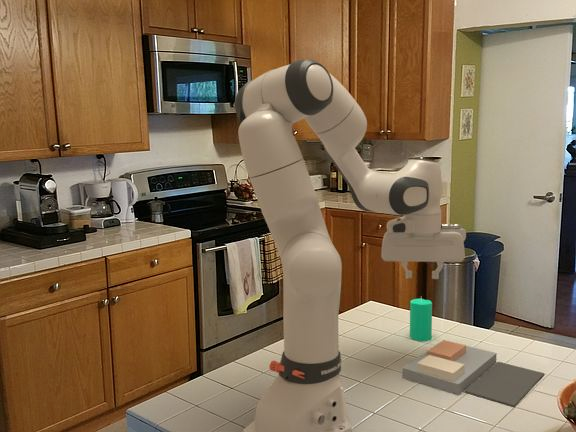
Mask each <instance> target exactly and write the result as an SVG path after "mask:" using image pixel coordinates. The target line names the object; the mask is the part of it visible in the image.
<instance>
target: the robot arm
mask: <svg viewBox="0 0 576 432" xmlns="http://www.w3.org/2000/svg"><path fill="white" fill-rule="evenodd" d="M234 100H235V101H234V102H235V105H234V106H235V112H236V116H237V119H238V122H239V124H240V125H239V127H238V130H237V131H238V132H237V133H238V134H237V135H238V140H239V146H240V151H241V155H242V159H243V163H244V166H245V171H246V172H247V175H248V176H247V177H249V180H250V183H251V186H252V189H253V192H254V194H255V197H256V200H257V203H258V205H259V207H260V211H261V213H262V215H263V218H264V221H265V223H266V224H267V228H268V229H269V233H270V235H271V236H272V237H271V238H272V239H273V242H274V244H275V247H276V250H277V252H278V254H279V258H280V262H281V265H282V266H281V267H282V278H283V281H282V283H283V285H282V286H283V287H282V289H283V293H282V295H283V304H282V305H283V312H282V313H283V314H282V318H283V320H282V321H283V351H282V353H281V359H280V361H279V362H278V361H276V360H271V362H270V364H269V370H270V371H271V372H275V373H277V376H276V377H275V379H274V380H272V383H271V384H270V385H269V387H268V388H267V390H265V393H264V394H263V396H262V397H261V398H260V399H259V400H258V403H256V408H255V414H254V420H253V421H251V422H250V423H249V424H248V425H247V426H245V427H244V429H243V430H242V432H352V430H353V429H352V424H351V423H350V421H349V420H348V413H347V412H348V411H347V404H346V403H347V402H346V395H345V388H344V385H343V383H342V380H341V379H342V378H341V375H340V374H341V372H342V357H341V356H342V355H341V351H340V350H339V349H340V348H339V312H340V311H339V310H340V304H341V303H340V302H341V301H340V300H341V290H342V289H341V288H342V274H343V273H342V270H343V266H342V263H343V262H342V259H341V255H340V254H339V252H338V250H337V249H336V247H335V245H334V244H333V242H332V239H331V237H330V234H329V232H328V228H327V225H326V222H325V219H324V216H323V213H322V210H321V207H320V203H319V200H318V196H317V193H316V191H315V190H316V189H315V188H314V184H313V182H312V179H311V177H310V174H309V171H308V168H307V165H306V162H305V159H304V156H303V154H302V152H301V149H300V147H299V144H298V142H297V139H296V137H295V135H294V134H293V124H296V123H297V122H300V121H302V120H304V121H305V122H306V124H307V125H308V126H309V128H310V129H311V130H312V131H313V133H314V134H315V135H316V136H317V137H318V139H319V140H320V142H321V143H322V145H323V149H324V150H325V153H326V154H327V156H328V158H329V159H330V160H331V162H332V163H333V165H334V167H335V169H336V170H337V171H338V173H339V174H340V175H341V177H342V178H343V180H344V181H345V183H346V184H347V187H348V188H349V192H350V194H351V197H352V200H353V202H354V204H355V206H356V207H357V208H358V209H360V210H361V211H364V212H367V213H368V212H373V213H382V214H387V215H394V216H401V217H397V218H394V219H390V220H388V221H387V223H386V230H387V231H386V232H385V233H384V235H383V239H382V243H381V253H380V255H381V256H380V257H381V258H382V260H383V261H384V262H401V266H402V268H403V270H404V272H405V279H413V270H409V269H408V267H407V266H408V262H421V263H422V262H425V263H428V262H429V263H430V262H431V263H434V262H436V264H437V267H436V269H435V270H432V271H431V279H432V280H439V277H440V276H439V275H440V274H439V273H440V272H441V271H442V269H443V268H444V263H447V262H448V263H462V262H463V261H464V260H465V258H466V253H465V252H466V251H465V244H464V242H465V241H466V239H467V230H466V228H465V227H464V226H462V225H461V224H459V223H455V224H452V223H442V209H441V199H442V197H443V196H442V195H443V179H442V171H441V168H440V167H441V166H440V164H439V163H438V162H437V161H435V160H432V159H427V158H417V157H415V158H414V157H413V158H409V159H408V160H407V163H406V164H405V166H403V167H402V168H401V169H399V170H398V171H395V172H393V173H385V172H378V171H375V170H372V169H371V168H369V167H368V166H367V165H366V163H365V161H364V160H363V159H362V157H361V155H360V154H359V153H358V150H357V149H356V147H358V145H359V144H360V143H361V141H362V140H363V139H364V137H365V136H366V135H365V134H366V133H367V130H368V129H367V127H368V120H367V117H366V115H365V113H364V111H363V109H362V108H361V106H360V104H359V103H357V101H356V100H355V98H354V97H353V95H352V94H350V92H349V91H348V90H347V89H346V87H345V86H344V85H343V84H342V83H341V81H339V80H338V79H337V78H336V77H335V76H333V75H332V74H331V73H330V72H329V71H328V69H327V68H326V67H325V66H324V65H322V64H321V63H320V62H319V61H318V60H315V59H312V58H310V59H309V58H306V59H304V58H303V59H299V60H294V61H292V62H291V63H290V64H287V65H284V66H280V67H277V68H276V69H275V68H273V69H271V70H268V71H266V72H263V73H262V74H261V75H259V76H257V77H256V78H254V79H251V80H249V81H247V82H246V83H245V84H243V86H241V88H239V90H238V91H237V93H236V96H235V99H234Z"/></svg>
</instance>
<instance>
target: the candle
mask: <svg viewBox="0 0 576 432" xmlns="http://www.w3.org/2000/svg"><path fill="white" fill-rule="evenodd" d="M432 327H433V302H432V301H431V300H429V299H424V298H422V295H421V296H420V298H414V299H412V300H410V303H409V338H410V337H411V338H412V339H414V340H413V341H415V340H418V341H417V342H428V340H429V341H431V340H432V336H433V335H432V333H433V330H432ZM411 338H410V339H411ZM412 339H411V340H412Z"/></svg>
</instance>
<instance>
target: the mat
mask: <svg viewBox="0 0 576 432" xmlns="http://www.w3.org/2000/svg"><path fill="white" fill-rule="evenodd" d="M544 376H545V373H544V372H541V371H536V370H533V369H530V368H529V369H528V368H525V367H521V366H517V365H513V364H509V363H506V362H505V363H504V362H502V361H496V363H495V364H494V365H493V366H492V367H491V368H489V369H488V370H487V371H486V372H485V373H484V374H482V375H481V376H480V377H479V378H478V379H476V380H475V381H474V382H473V383H472V384H471V385H469V386H468V387H467V388H466V389H465V390H464V391H463V392H464V393H465V394H469V395H472V396H475V397H478V398H482V399H486V400H489V401H492V402H495V403H498V404H502V405H506V406H509V407H512V408H515V407H516V406H517V405H518V404H519V403H520V402H521V401H522V400H523V398H524V397H525V396H526V395H528V393H529V392H530V391H531V390H532V389H533V387H534V386H536V384H537V383H538V382H540V380H541V379H542V378H543V377H544Z"/></svg>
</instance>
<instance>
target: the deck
mask: <svg viewBox="0 0 576 432" xmlns="http://www.w3.org/2000/svg"><path fill="white" fill-rule="evenodd" d="M497 355H498V353H497V352H493V351H489V350H486V349H481V348H477V347H473V346H469V345H466V353H465V354H464V355H463V356H461V357H460V358H459V359H457V360H456V361H454V362H458V363H461V364H465V373H463V374H462V375H461V376H460V377H458V378H457V379H456V380H455V381H449V380H446V379H442V378H439V377H435V376H432V375H428V374H425V373H422V372H418V371H417V363H418V362H419V361H421V360H422V359H424V358H425V357H427V351H425V353H423V354H421V355H420V356H419V357H417V358H415V359H414V360H412V361H411V362H409V363H408V364H406V365H404V366H403V367H402V371H401V372H402V373H401V374H402V375H401V377H402V379H404V378H405V379H404V380H408V381H411V382H414V381H415V383H418V384H421V385H424V386H427V385H428V386H427V387H431V388H435V389H437V390H441V391H444V392H448V393H451V394H454V395H457V396H459V395H460V394H462V393H463V392H464V390H466V389H467V388H468V387H469V386H470V385H472V384H473V383H474V382H475V381H476V380H477V379H479V378H480V377H481V376H482V375H483V374H484V373H486V372H487V371H488V370H489V369H490V368H491V367H493V366H494V365H495V364H496V363H497Z"/></svg>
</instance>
